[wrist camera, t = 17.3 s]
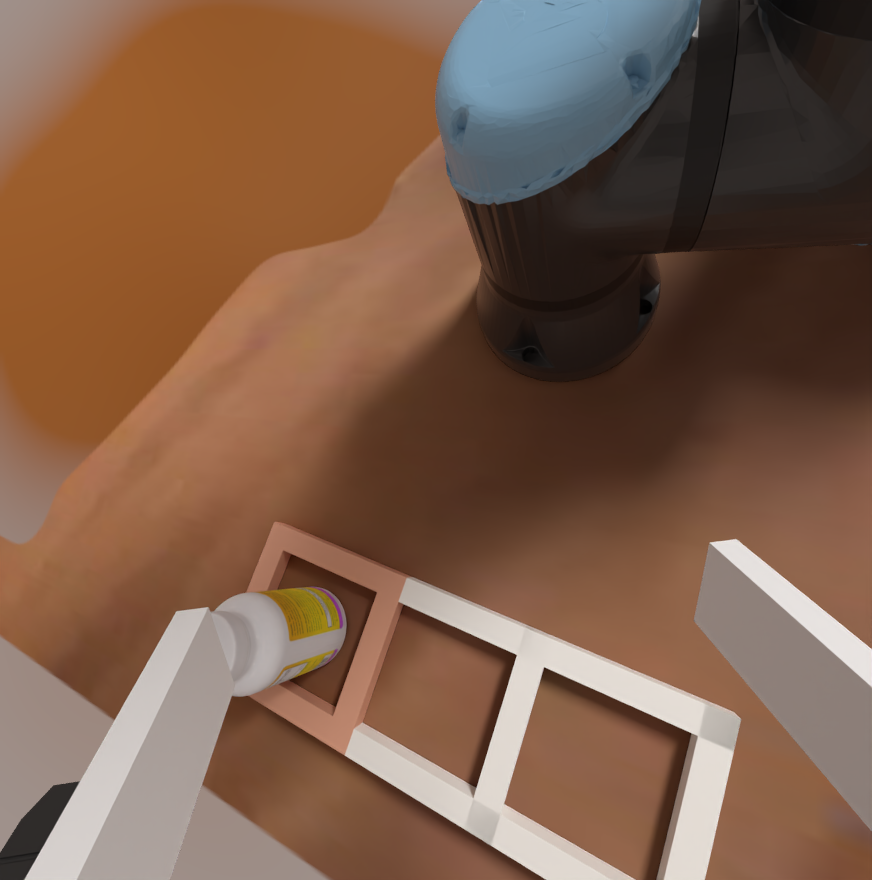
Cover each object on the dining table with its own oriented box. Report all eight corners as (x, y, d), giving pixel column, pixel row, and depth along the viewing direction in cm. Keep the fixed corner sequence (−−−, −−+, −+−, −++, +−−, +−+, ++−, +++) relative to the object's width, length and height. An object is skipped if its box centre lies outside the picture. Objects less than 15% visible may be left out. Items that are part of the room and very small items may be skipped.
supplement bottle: (297, 576, 42) (184, 581, 30) (359, 599, 39) (264, 614, 28) (272, 651, 41) (146, 687, 29) (335, 680, 38) (225, 731, 26)
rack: (733, 711, 30) (740, 718, 29) (680, 945, 28) (685, 965, 27) (284, 523, 44) (274, 521, 42) (225, 670, 41) (213, 674, 40)
